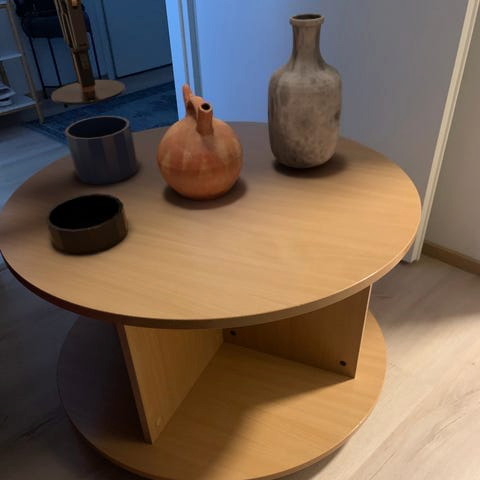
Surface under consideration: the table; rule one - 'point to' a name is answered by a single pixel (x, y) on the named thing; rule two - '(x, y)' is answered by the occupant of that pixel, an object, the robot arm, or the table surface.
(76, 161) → the pot
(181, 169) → the jug
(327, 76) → the vase
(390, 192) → the table surface
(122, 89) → the lid
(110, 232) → the pan
